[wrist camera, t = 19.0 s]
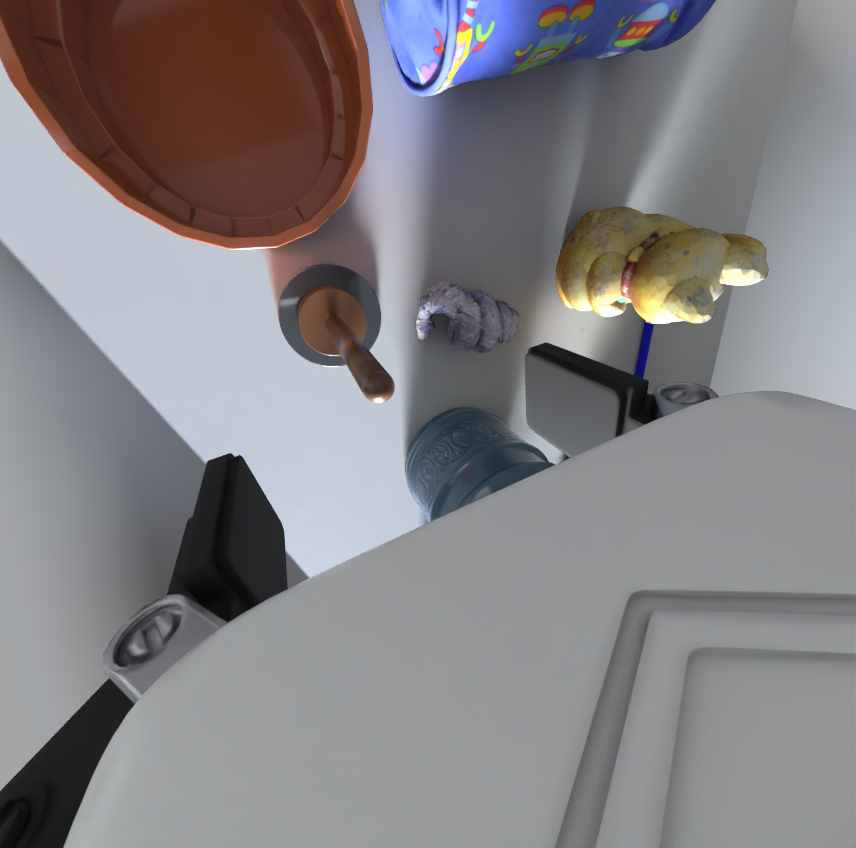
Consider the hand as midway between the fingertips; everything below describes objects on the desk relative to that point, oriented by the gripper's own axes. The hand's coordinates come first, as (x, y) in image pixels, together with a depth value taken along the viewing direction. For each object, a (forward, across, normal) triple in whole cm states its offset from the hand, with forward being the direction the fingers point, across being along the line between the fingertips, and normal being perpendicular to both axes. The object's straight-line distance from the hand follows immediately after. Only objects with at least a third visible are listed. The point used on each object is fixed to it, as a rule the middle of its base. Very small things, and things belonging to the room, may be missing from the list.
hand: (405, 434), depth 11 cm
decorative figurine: (+21, -26, +1) cm, 33 cm away
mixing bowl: (+21, +1, -13) cm, 25 cm away
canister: (+21, -9, +19) cm, 29 cm away
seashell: (+21, -12, +3) cm, 24 cm away
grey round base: (+21, -1, 0) cm, 21 cm away
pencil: (+20, -36, +12) cm, 43 cm away
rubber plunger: (+20, -1, 0) cm, 20 cm away
